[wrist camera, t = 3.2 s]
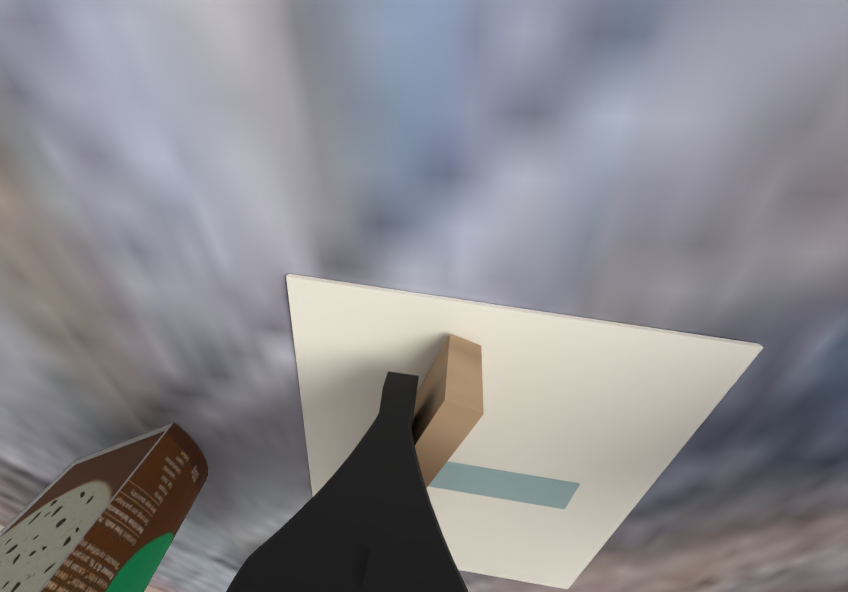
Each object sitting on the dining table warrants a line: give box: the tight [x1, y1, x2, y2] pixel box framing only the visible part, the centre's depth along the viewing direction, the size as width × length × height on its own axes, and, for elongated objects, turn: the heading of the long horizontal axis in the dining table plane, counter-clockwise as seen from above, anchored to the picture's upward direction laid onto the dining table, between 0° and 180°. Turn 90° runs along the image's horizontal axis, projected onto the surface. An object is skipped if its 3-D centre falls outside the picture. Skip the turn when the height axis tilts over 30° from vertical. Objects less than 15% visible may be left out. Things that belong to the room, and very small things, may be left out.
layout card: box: [286, 274, 763, 589], centre depth 17 cm, size 16×20×1 cm
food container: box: [0, 422, 208, 592], centre depth 17 cm, size 12×6×10 cm, turn 119°
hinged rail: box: [412, 334, 484, 488], centre depth 13 cm, size 10×1×4 cm, turn 158°
